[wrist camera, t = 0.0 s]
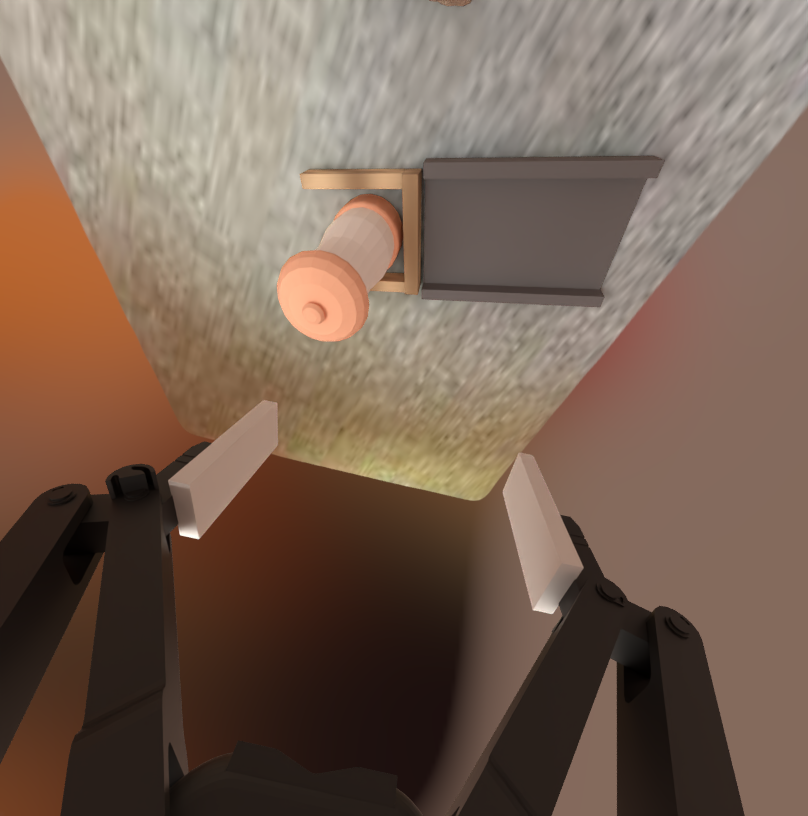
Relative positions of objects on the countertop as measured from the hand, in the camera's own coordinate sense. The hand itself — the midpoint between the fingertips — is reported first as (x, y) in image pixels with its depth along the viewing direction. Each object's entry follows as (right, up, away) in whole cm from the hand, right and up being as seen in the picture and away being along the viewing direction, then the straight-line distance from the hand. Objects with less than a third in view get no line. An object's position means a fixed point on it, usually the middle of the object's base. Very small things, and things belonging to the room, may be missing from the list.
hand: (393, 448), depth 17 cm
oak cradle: (-3, +22, +18) cm, 29 cm away
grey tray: (+13, +21, +16) cm, 29 cm away
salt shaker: (-3, +22, +19) cm, 29 cm away
